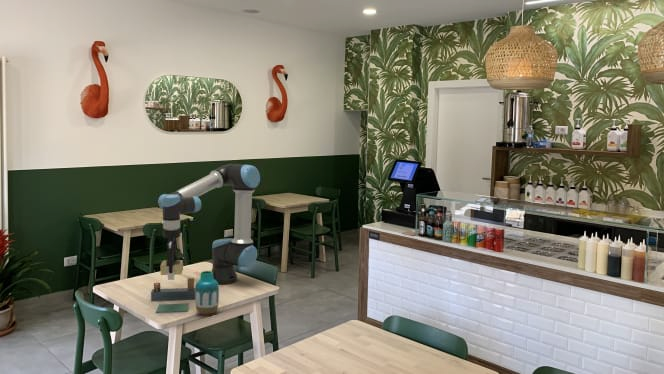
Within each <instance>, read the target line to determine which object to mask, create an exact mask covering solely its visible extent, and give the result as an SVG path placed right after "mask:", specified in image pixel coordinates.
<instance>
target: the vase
mask: <svg viewBox="0 0 664 374" xmlns="http://www.w3.org/2000/svg"><path fill="white" fill-rule="evenodd" d="M219 286H220V285H219V284H218V282H217V281H216V280H215V279H214V278H213V272H212V270H203V271H200V279H199V280H197V281H196V283H195V285H194V288H195V300H194V303H195V308H196V311H197V312H198V313H199V314H201V315H210V314H213V313H215V312H216V311H217V310H218V308H219V304H220V303H219V302H220V288H219Z"/></svg>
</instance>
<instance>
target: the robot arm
mask: <svg viewBox="0 0 664 374" xmlns="http://www.w3.org/2000/svg"><path fill="white" fill-rule="evenodd" d="M260 175H261V174H260V172H259V170H258V168H257V167H256V166H254V165H250V164H243V163H242V164H237V163H229V164H226V165H222V166H219V167H218V168H216V169H214V170H211V171H210V173H209V174H208V175H206V176H203V177H202V178H200V179H198V180H196V181H194V182H192V183H189V184H188V185H185V186H184V187H181V188H180V189H178V190H176V191H174V192H171V193H163V194H161V195H160V196H159V197H158V200H157V204H158V206H159V208H160V209H161V210H162V221H161V224H162V229H163V230H162V236H163V238H164V239H168V240H167V241H166V253H167V254H166V255H167V256H166V258H167V259H166V260H167V265H166V266H168V275H167V280H168V281H172V280H175V275H174V260H179V258H178V255H177V244H178V243H177V238H180V237H181V229H180V228H181V215H185V214H191V213H192V214H193V213H197V212H199V211H200V210H201V209H202V201H201V199H200V198H199V197H201V196H202V195H204V194H206V193H208V192H209V191H212V190H214V189H216V188H222V187H225V186H232V191H233V192H234V193H235V198H234V199H235V201H234V202H235V203H234V204H235V205H234V232H233V233H234V236H233V237H234V238H231V237H230V238H228V237H227V238H220V239H216V240H214V241H213V242H212V247H211V249H212V250H211V253H212V254H211V255H212V257H211V258H212V259H211V260H212V268H211V271H212V272H213V278H214V279H215V280H216V281H217V282H218V285H230V284H233V283H236V282H237V281H238V274H237V270H236V268H235V266H238V267H241V268H249V267H252V266H253V264H254V263H255V262H256V260H257V257H258V249H257V248H256V247H255V246H254V240H253V239H252V238H251V236H252V235H251V231H252V207H253V206H252V205H253V204H252V202H253V201H252V199H253V193H255V190H256V188H257V187H258V186H259V184H260V182H261V176H260Z"/></svg>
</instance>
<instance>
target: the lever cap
mask: <svg viewBox="0 0 664 374" xmlns="http://www.w3.org/2000/svg"><path fill="white" fill-rule="evenodd" d="M166 265H167V259H165V260H162V262H161V263H160V276H168V266H166ZM183 270H184V260H182V259H178V260H174V276H175V275H177V276H178V275H182V273H183Z"/></svg>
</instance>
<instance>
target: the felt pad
mask: <svg viewBox="0 0 664 374" xmlns="http://www.w3.org/2000/svg"><path fill="white" fill-rule="evenodd" d="M189 308H190V303H189V302H186V303H185V302H184V303H182V302H180V303H161V304H158V306H157V308H156V310H155V314H162V313H164V314H165V313H187V312H188V311H189Z"/></svg>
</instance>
